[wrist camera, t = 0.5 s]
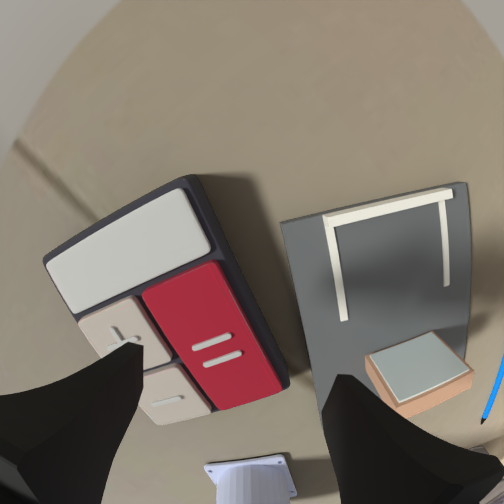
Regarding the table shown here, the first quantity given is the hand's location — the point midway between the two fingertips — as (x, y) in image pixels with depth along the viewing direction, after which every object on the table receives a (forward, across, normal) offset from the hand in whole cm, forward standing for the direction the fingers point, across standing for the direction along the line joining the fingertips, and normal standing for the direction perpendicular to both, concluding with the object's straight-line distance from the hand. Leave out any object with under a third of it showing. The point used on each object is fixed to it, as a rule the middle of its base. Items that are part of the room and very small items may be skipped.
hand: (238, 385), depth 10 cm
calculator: (+10, +4, +2) cm, 12 cm away
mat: (+10, -12, 0) cm, 15 cm away
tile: (+9, -13, +3) cm, 16 cm away
